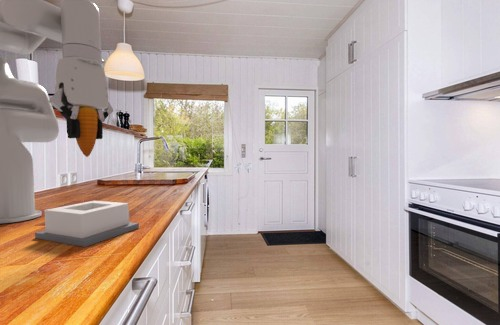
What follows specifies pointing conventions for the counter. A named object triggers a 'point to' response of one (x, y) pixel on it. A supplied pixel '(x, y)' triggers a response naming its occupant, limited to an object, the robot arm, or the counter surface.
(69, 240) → the socket stand
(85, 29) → the robot arm
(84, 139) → the carrot
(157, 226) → the counter surface
